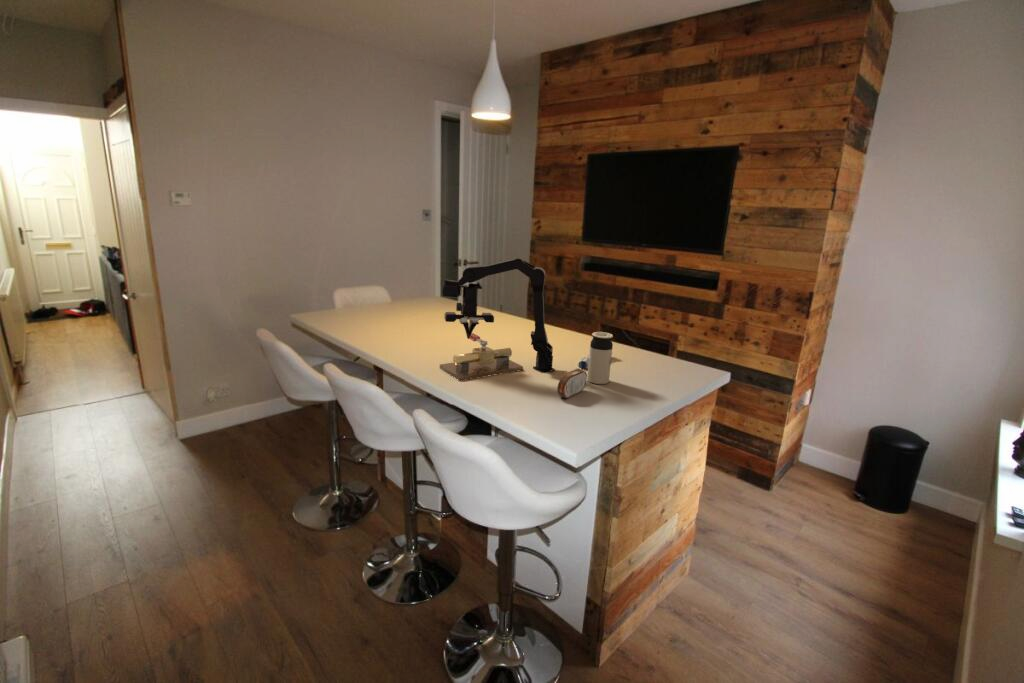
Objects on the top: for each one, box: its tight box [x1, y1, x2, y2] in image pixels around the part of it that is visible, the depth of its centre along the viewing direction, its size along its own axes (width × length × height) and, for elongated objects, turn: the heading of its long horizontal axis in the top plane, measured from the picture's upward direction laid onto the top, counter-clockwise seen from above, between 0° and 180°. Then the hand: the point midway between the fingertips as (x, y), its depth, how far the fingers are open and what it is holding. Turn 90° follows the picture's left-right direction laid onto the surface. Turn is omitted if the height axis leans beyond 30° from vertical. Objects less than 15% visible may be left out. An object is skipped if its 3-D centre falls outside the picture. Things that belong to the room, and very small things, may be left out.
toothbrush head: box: [578, 355, 589, 370], centre depth 202 cm, size 5×7×25 cm
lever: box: [468, 332, 489, 346], centre depth 187 cm, size 14×3×2 cm, turn 30°
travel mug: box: [586, 331, 614, 385], centre depth 177 cm, size 8×8×18 cm
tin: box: [557, 368, 588, 399], centre depth 164 cm, size 15×3×8 cm, turn 141°
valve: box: [439, 345, 524, 382], centre depth 185 cm, size 16×28×10 cm, turn 124°
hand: (468, 338), depth 189 cm, fingers closed
